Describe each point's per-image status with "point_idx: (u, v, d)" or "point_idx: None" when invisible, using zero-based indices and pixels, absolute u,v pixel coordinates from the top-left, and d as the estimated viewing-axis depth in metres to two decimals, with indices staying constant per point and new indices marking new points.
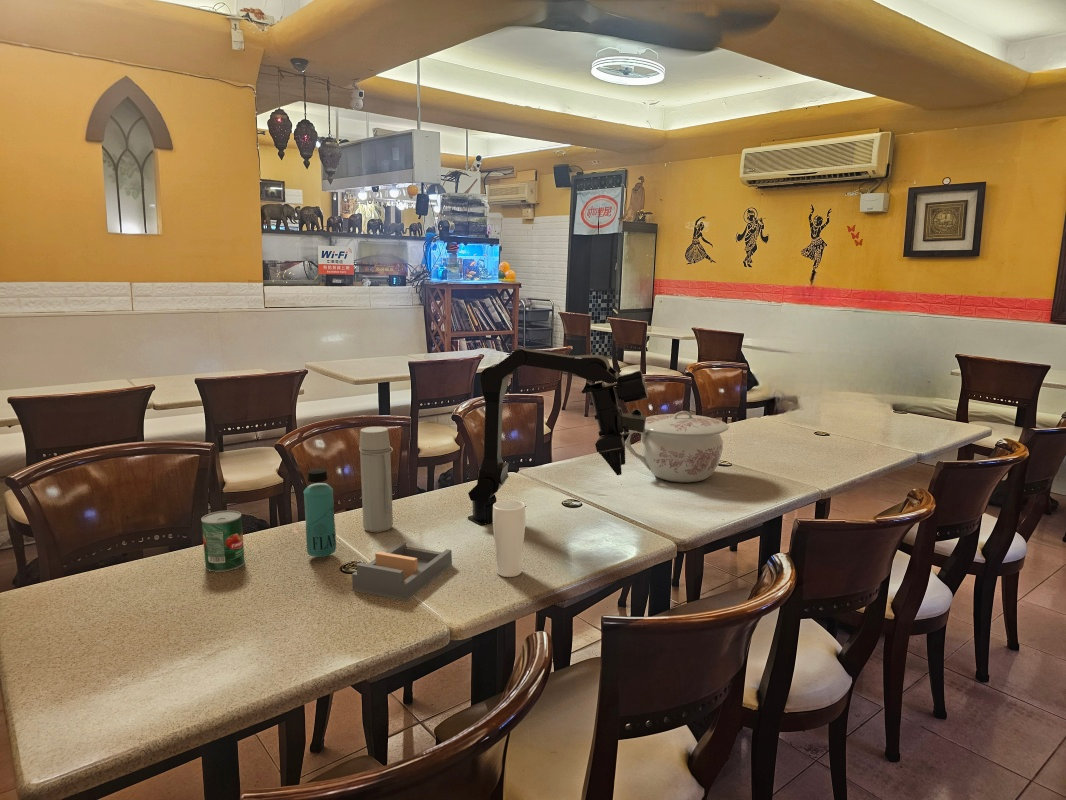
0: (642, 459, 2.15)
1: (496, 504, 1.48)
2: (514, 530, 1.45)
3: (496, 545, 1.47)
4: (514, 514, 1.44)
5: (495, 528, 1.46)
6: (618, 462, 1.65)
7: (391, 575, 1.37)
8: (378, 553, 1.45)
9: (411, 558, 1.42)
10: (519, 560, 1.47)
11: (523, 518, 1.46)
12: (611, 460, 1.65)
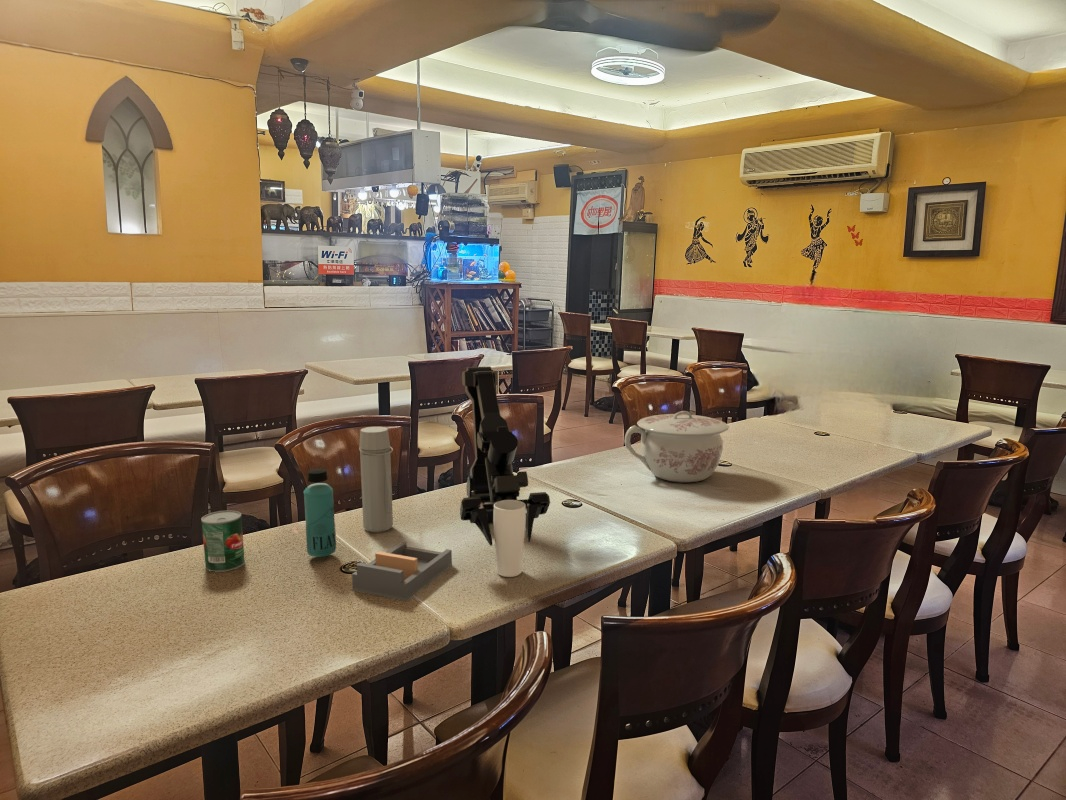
0: (642, 459, 2.15)
1: (496, 504, 1.48)
2: (514, 530, 1.44)
3: (496, 545, 1.47)
4: (515, 514, 1.44)
5: (495, 528, 1.46)
6: (484, 529, 1.47)
7: (391, 575, 1.37)
8: (378, 553, 1.45)
9: (411, 558, 1.42)
10: (519, 560, 1.47)
11: (524, 518, 1.46)
12: (482, 529, 1.49)
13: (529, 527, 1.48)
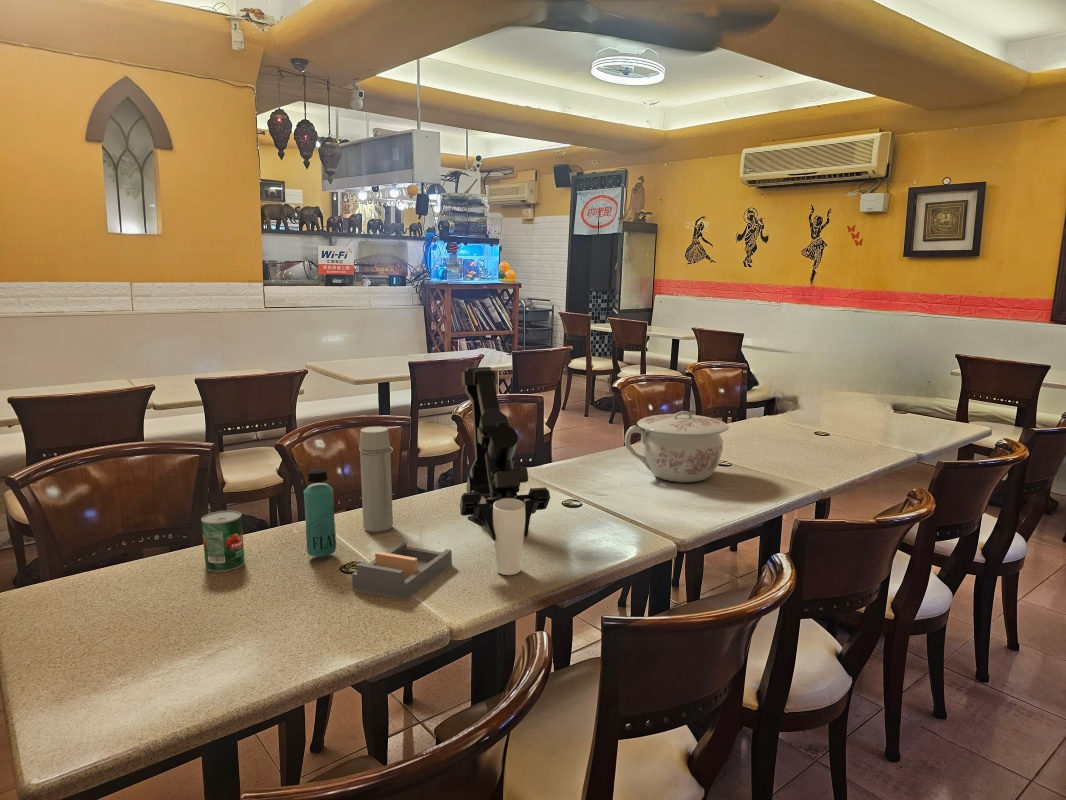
0: (642, 459, 2.15)
1: (496, 503, 1.48)
2: (514, 530, 1.44)
3: (496, 544, 1.47)
4: (514, 515, 1.43)
5: (495, 528, 1.45)
6: (487, 524, 1.47)
7: (391, 575, 1.37)
8: (378, 553, 1.45)
9: (411, 558, 1.42)
10: (519, 559, 1.48)
11: (523, 518, 1.45)
12: (485, 524, 1.49)
13: (526, 523, 1.48)
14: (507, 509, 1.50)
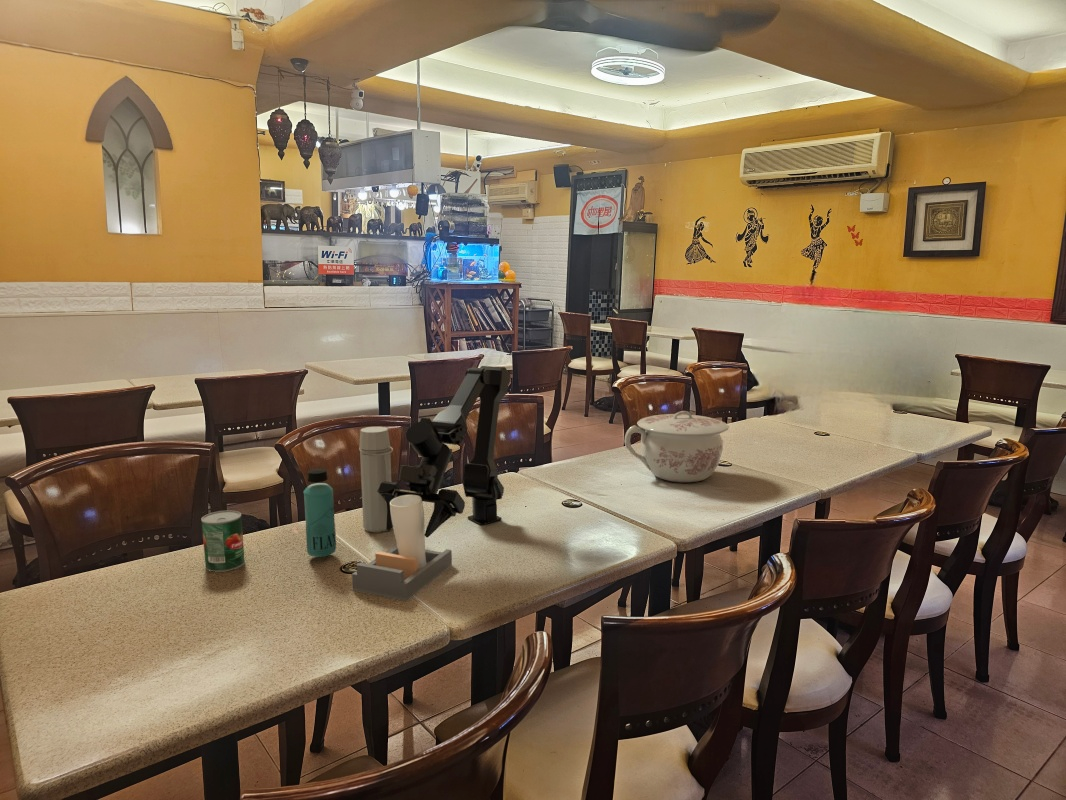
0: (642, 459, 2.15)
1: (401, 498, 1.50)
2: (401, 526, 1.45)
3: None
4: (399, 511, 1.44)
5: None
6: None
7: (391, 575, 1.37)
8: (378, 553, 1.45)
9: (411, 558, 1.42)
10: (413, 556, 1.47)
11: (412, 516, 1.45)
12: None
13: (430, 522, 1.46)
14: None
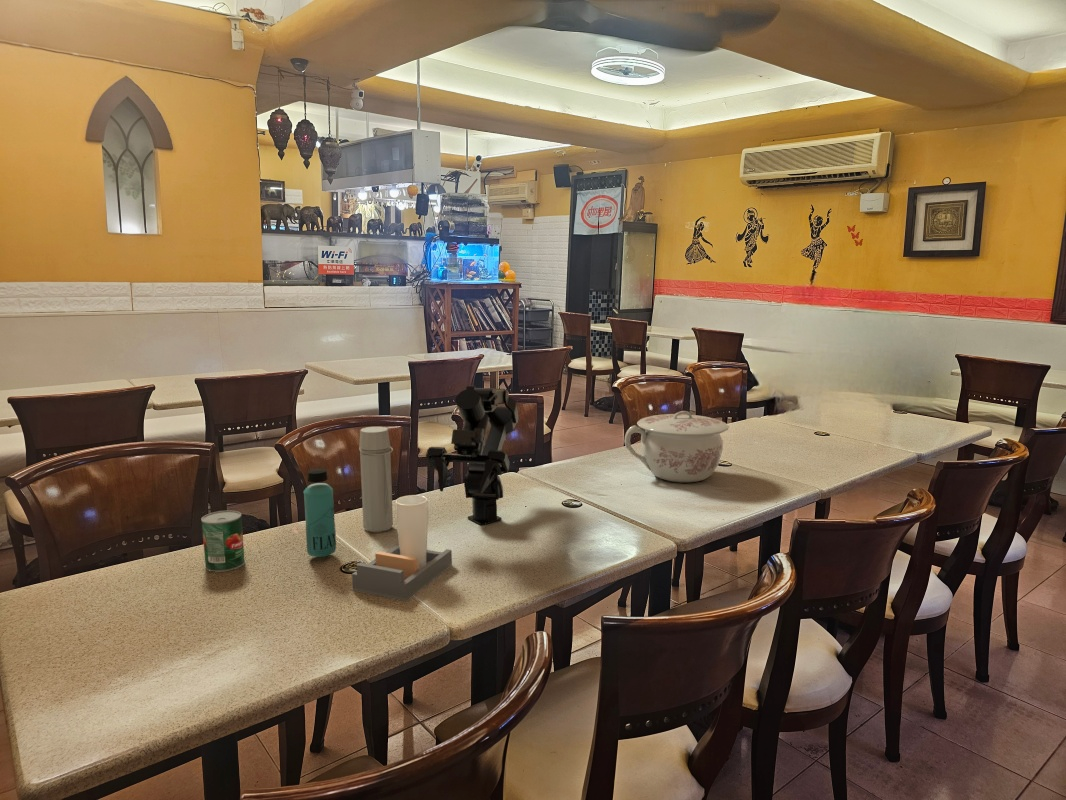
0: (642, 459, 2.15)
1: (406, 498, 1.51)
2: (405, 525, 1.46)
3: None
4: (405, 510, 1.45)
5: None
6: None
7: (391, 575, 1.37)
8: (378, 553, 1.45)
9: (411, 558, 1.42)
10: (415, 556, 1.47)
11: (417, 515, 1.45)
12: None
13: (482, 480, 1.59)
14: None
